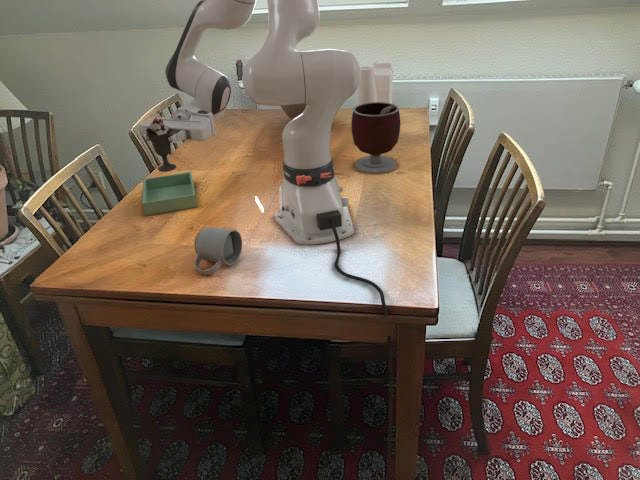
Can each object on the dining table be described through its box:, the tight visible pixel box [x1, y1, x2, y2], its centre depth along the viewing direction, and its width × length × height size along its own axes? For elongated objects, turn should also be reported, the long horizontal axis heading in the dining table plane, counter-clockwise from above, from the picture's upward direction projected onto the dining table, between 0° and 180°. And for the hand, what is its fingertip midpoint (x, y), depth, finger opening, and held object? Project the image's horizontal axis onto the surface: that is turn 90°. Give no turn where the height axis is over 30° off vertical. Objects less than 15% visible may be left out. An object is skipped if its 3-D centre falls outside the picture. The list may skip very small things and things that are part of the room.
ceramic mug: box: [194, 226, 243, 276], centre depth 113 cm, size 11×8×8 cm
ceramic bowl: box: [280, 103, 307, 121], centre depth 195 cm, size 22×23×10 cm
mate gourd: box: [351, 102, 401, 175], centre depth 151 cm, size 16×14×20 cm
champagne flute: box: [355, 65, 377, 106], centre depth 167 cm, size 7×7×24 cm
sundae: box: [146, 110, 177, 173], centre depth 137 cm, size 7×7×15 cm
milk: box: [373, 62, 393, 104], centre depth 180 cm, size 6×6×22 cm
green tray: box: [141, 171, 198, 216], centre depth 144 cm, size 16×13×4 cm
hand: (158, 139), depth 136 cm, fingers closed on sundae, 6 cm apart
